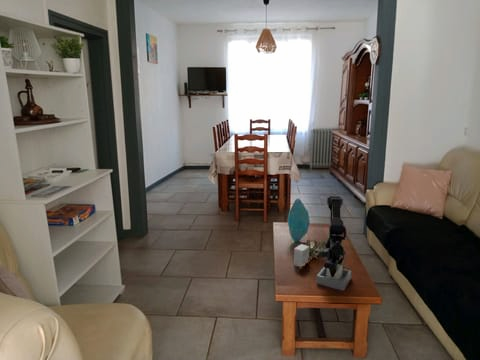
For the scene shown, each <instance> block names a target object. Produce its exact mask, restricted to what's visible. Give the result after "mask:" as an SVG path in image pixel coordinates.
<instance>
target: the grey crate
mask: <svg viewBox="0 0 480 360" xmlns="http://www.w3.org/2000/svg"><path fill="white" fill-rule="evenodd" d="M326 273H327V268H324V266H323V268H321V270H320V271H319V272H318V274H317V275H316V284H317V285H321V286H324V287H328V288H332V289H335V290H339V291H343V292H344V291H345V289H346V288H347V286H348V284H349V282H350V281H351V279H352V270H350V269H345V268H342V276H341V278H340V279H339V280H335V279H332V278H328V277H326Z"/></svg>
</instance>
